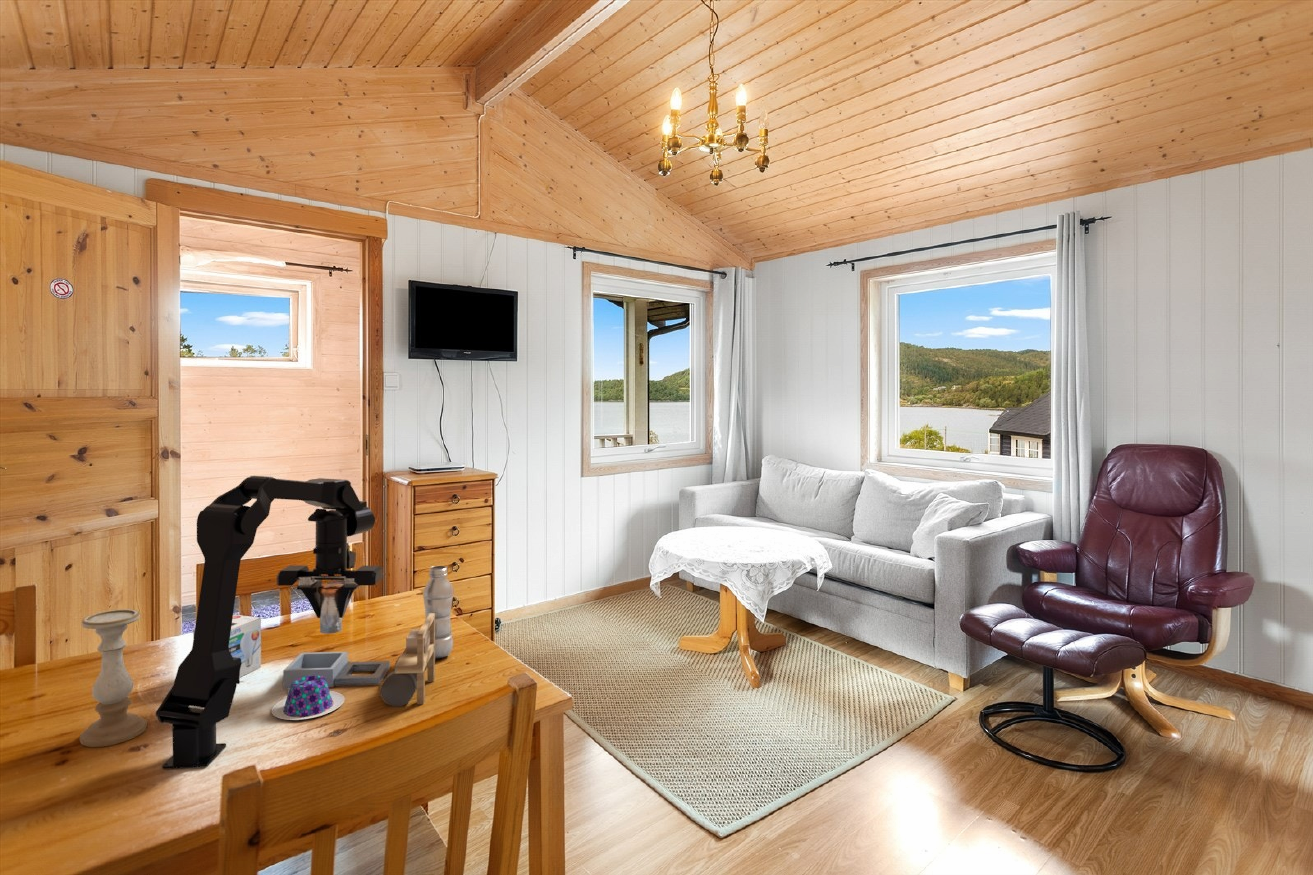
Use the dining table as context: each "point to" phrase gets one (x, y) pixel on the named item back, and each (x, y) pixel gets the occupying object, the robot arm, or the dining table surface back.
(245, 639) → the light bulb box
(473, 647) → the dining table surface
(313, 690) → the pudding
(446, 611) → the plastic bottle
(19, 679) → the dining table surface
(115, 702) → the candle holder
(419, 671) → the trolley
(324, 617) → the grey brown-topped cylinder
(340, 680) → the collar
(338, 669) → the tray
